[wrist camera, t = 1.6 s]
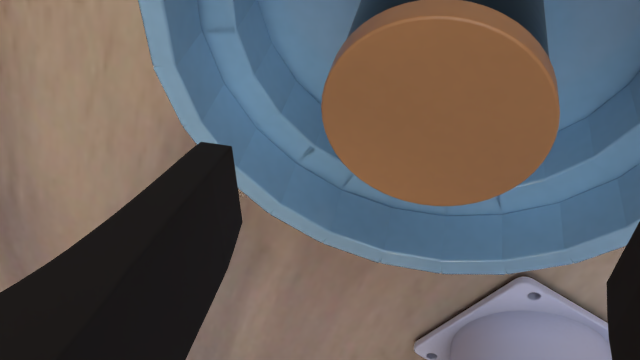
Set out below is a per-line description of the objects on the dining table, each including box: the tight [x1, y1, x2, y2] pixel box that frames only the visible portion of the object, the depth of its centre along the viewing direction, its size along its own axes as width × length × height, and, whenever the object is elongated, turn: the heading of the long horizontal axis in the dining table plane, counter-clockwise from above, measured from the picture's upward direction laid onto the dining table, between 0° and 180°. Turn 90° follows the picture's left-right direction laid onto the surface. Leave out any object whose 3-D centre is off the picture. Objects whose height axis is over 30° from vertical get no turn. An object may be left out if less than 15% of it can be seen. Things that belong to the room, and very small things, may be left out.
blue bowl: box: [138, 0, 640, 275], centre depth 16 cm, size 15×15×4 cm
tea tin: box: [321, 0, 560, 206], centre depth 15 cm, size 5×5×6 cm
